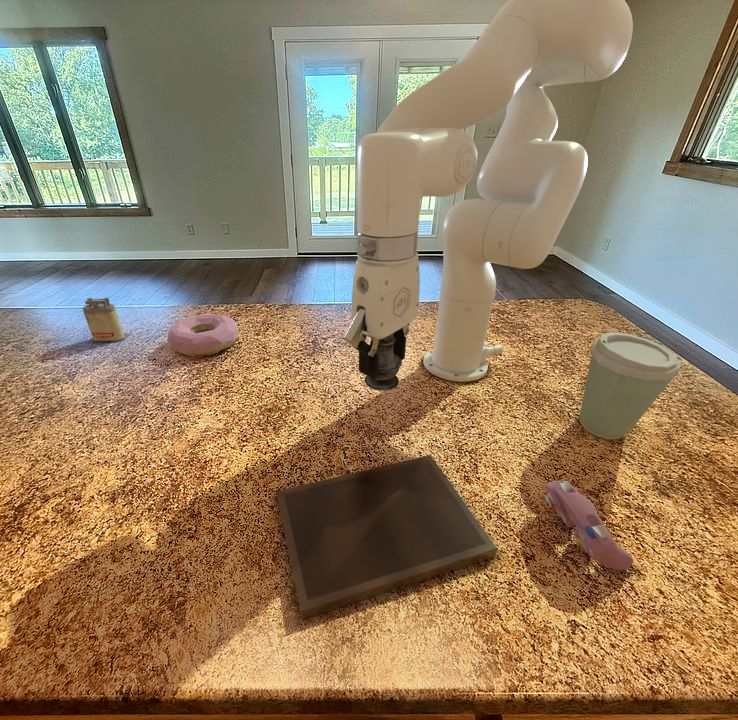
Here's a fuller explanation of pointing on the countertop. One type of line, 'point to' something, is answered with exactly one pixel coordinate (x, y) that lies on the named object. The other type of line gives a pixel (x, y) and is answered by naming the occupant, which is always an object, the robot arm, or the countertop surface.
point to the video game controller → (587, 525)
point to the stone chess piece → (385, 366)
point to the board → (376, 533)
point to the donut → (203, 334)
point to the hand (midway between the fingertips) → (382, 364)
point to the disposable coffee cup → (623, 382)
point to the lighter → (103, 320)
